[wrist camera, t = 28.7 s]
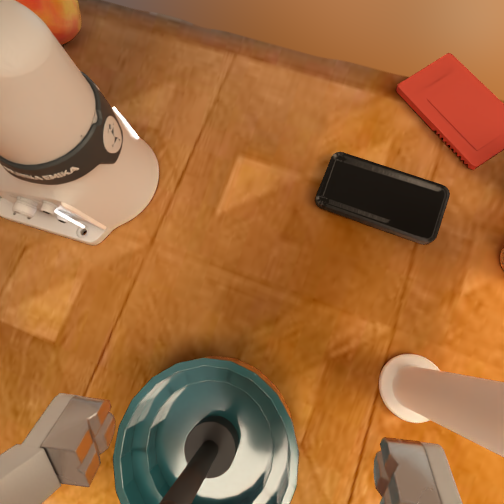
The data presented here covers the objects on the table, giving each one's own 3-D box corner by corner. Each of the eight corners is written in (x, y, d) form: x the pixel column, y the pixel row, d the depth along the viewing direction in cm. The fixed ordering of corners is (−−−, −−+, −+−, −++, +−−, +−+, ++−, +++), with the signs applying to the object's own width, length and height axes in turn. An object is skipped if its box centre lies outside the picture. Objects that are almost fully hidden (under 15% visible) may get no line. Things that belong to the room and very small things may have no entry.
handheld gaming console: (526, 135, 45) (446, 57, 49) (532, 129, 44) (450, 51, 48) (470, 172, 45) (394, 90, 48) (475, 167, 43) (396, 84, 47)
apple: (71, -16, 45) (-22, -31, 42) (82, 62, 52) (3, 54, 49) (78, -34, 51) (-3, -49, 48) (87, 38, 58) (17, 29, 55)
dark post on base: (187, 464, 38) (112, 568, 21) (194, 412, 39) (129, 468, 22) (235, 471, 37) (199, 584, 20) (241, 418, 39) (212, 481, 21)
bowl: (123, 516, 38) (95, 548, 32) (152, 348, 42) (132, 349, 36) (287, 544, 36) (289, 583, 30) (300, 365, 40) (305, 370, 35)
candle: (376, 415, 39) (543, 538, 14) (380, 349, 40) (537, 360, 16) (443, 427, 38) (738, 577, 14) (445, 359, 40) (711, 386, 15)
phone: (334, 149, 45) (452, 187, 43) (333, 154, 47) (447, 191, 44) (313, 203, 44) (434, 245, 41) (312, 206, 45) (430, 248, 43)
